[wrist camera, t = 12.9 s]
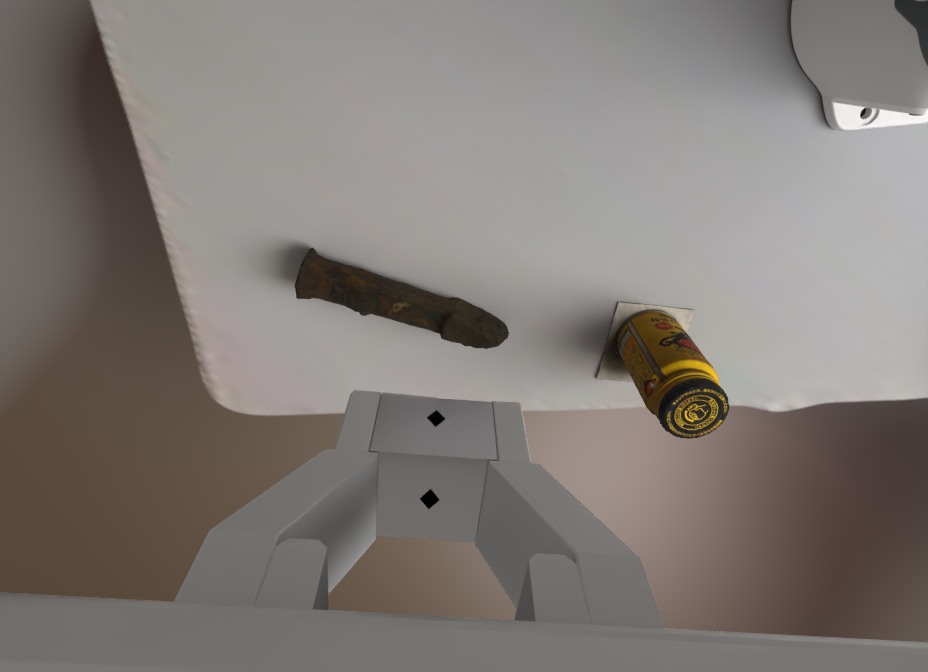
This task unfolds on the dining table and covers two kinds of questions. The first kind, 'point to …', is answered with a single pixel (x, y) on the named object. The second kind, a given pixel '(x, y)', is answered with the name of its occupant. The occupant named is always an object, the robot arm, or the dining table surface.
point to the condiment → (665, 368)
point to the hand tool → (398, 302)
